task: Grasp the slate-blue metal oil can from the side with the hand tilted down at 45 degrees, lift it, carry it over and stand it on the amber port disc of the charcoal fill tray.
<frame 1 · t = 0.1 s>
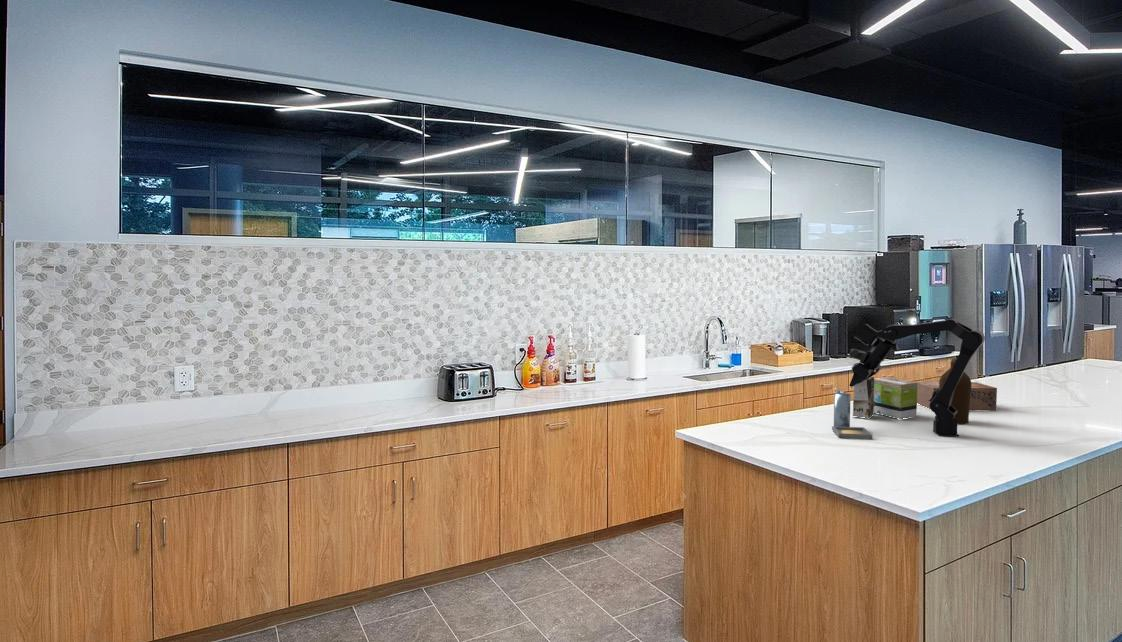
hand: (854, 384, 241), 15 cm above the counter, tool tilted 35°, fingers open, 9 cm apart
fill tray: (851, 434, 223), on the counter
spout can: (841, 427, 233), on the counter
tea box: (892, 416, 253), on the counter
olive oil: (954, 422, 241), on the counter
coffee box: (863, 417, 251), on the counter
tissue box cover: (954, 408, 267), on the counter
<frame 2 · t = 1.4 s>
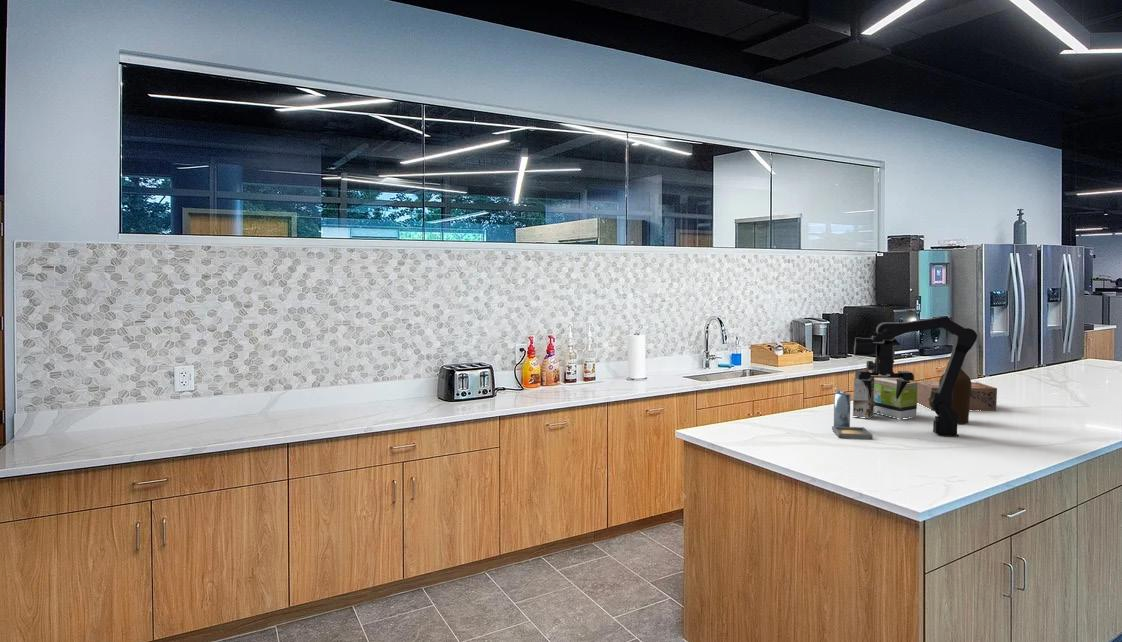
hand: (883, 398, 228), 12 cm above the counter, tool pointing down, fingers open, 9 cm apart
nothing on the counter moved.
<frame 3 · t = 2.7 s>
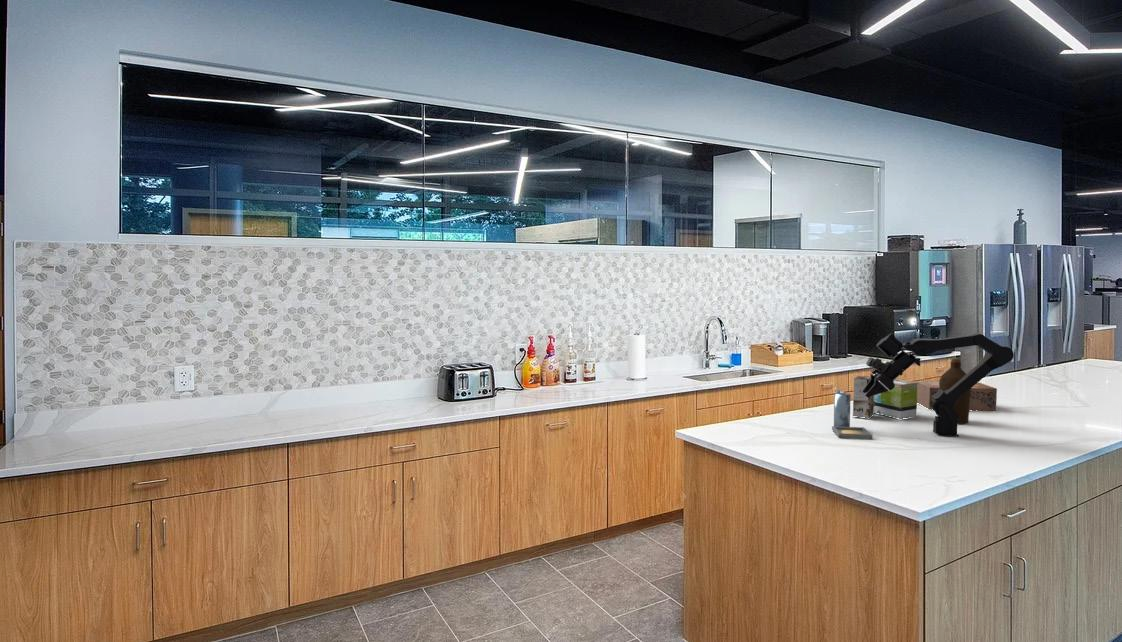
hand: (864, 394, 230), 13 cm above the counter, tool tilted 45°, fingers open, 9 cm apart
nothing on the counter moved.
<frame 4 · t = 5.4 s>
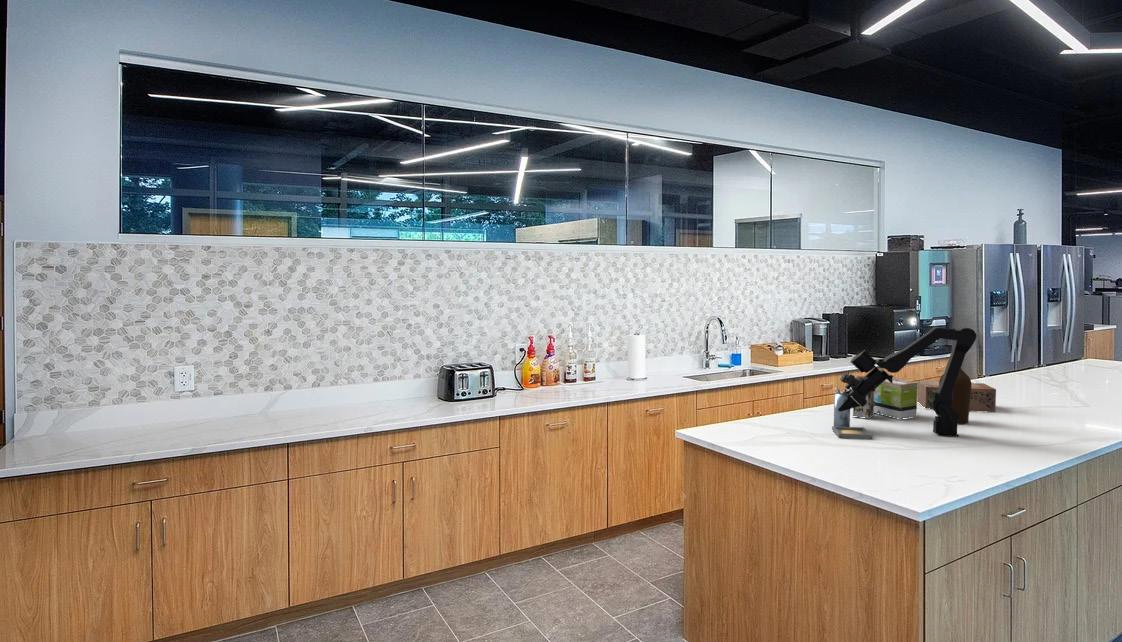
hand: (838, 409, 233), 7 cm above the counter, tool tilted 45°, fingers closed on spout can, 6 cm apart
spout can: (841, 427, 233), on the counter, touching gripper
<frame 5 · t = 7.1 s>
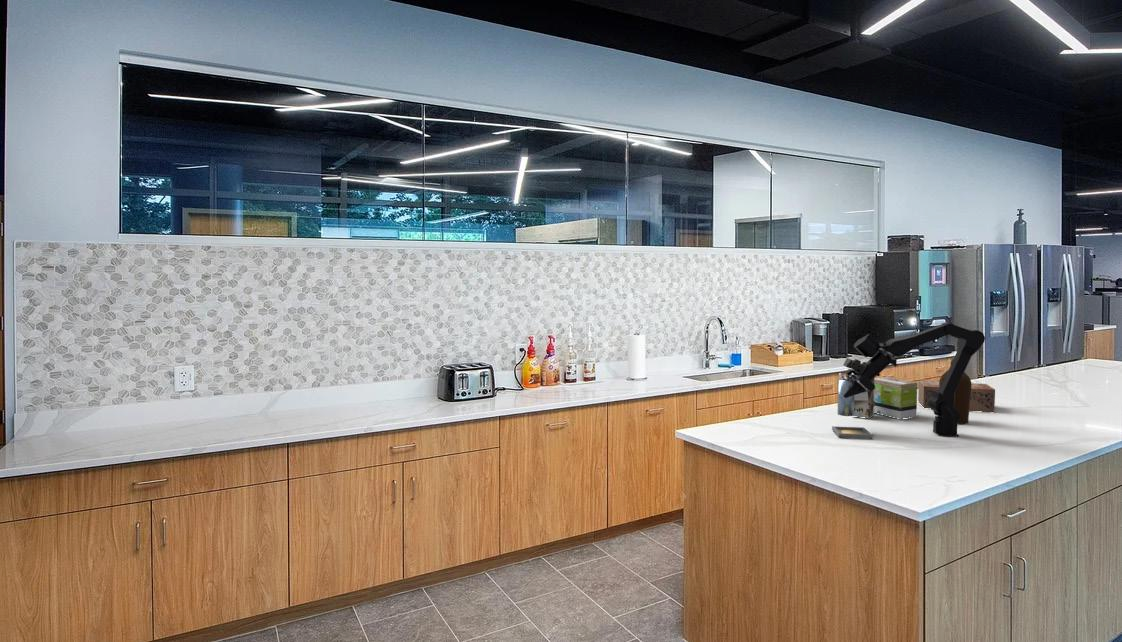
hand: (842, 395, 227), 13 cm above the counter, tool tilted 45°, fingers closed on spout can, 6 cm apart
spout can: (845, 414, 228), point 6 cm above the counter, touching gripper
when the fingers open (9 cm above the counter, at t = 9.0 s): spout can stays where it is, resting on fill tray.
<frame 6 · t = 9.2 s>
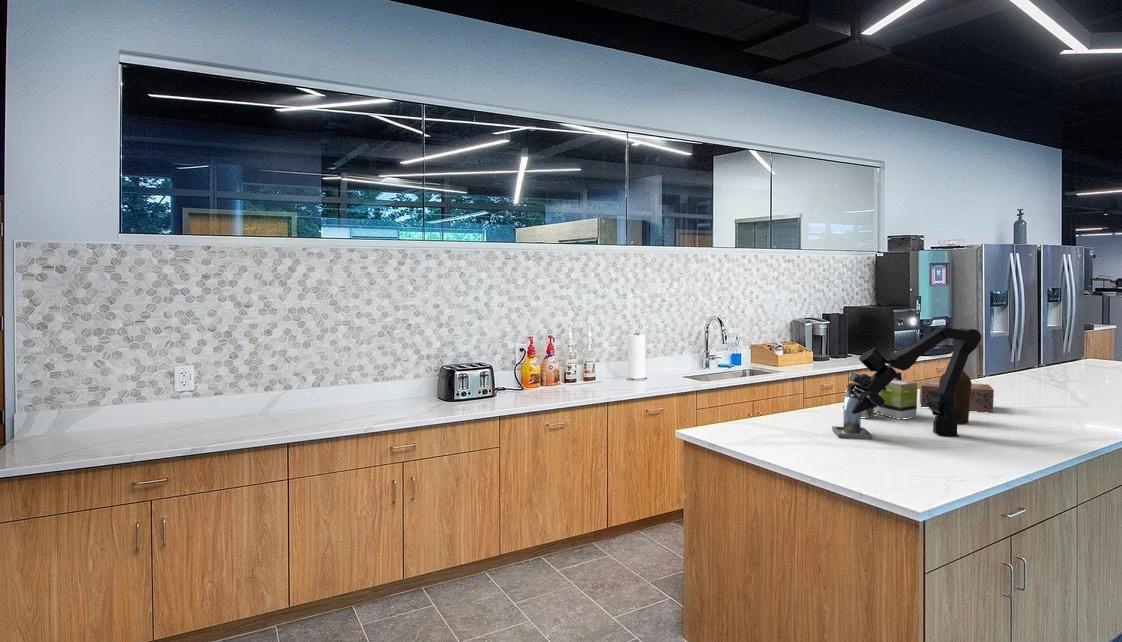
hand: (848, 410, 222), 9 cm above the counter, tool tilted 45°, fingers open, 7 cm apart
spout can: (851, 432, 222), point 1 cm above the counter, touching fill tray
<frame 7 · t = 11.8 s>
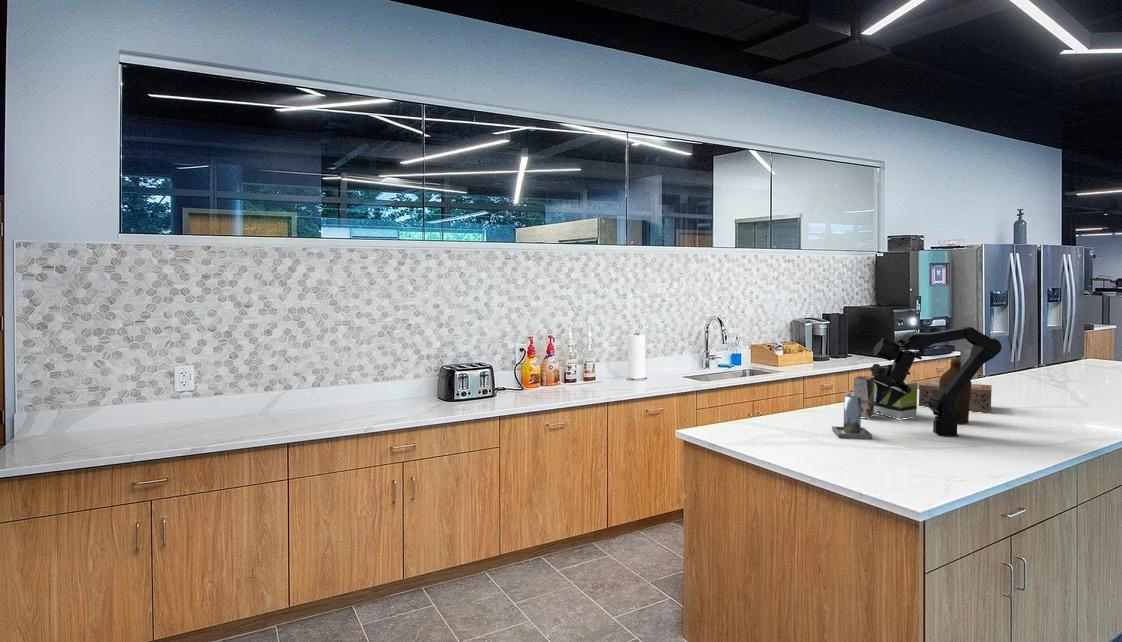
hand: (882, 404, 223), 11 cm above the counter, tool tilted 25°, fingers open, 9 cm apart
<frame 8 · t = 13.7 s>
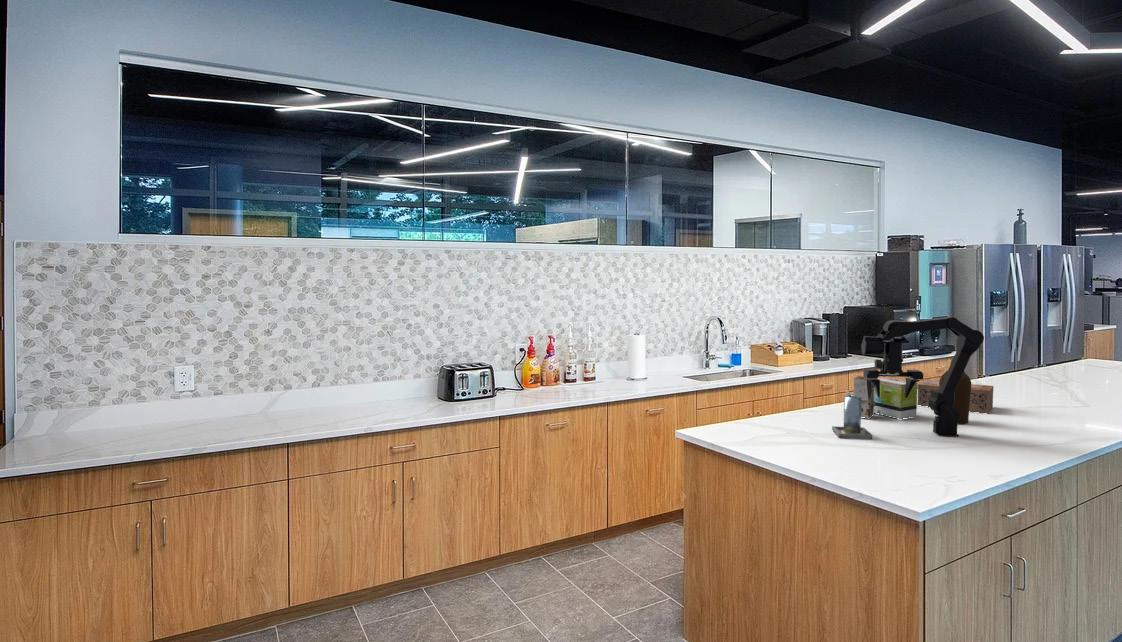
hand: (892, 397, 224), 13 cm above the counter, tool pointing down, fingers open, 9 cm apart
at the end: spout can 0.1 cm off-centre on the fill tray, point 0.9 cm above the fill tray's base; spout can tilted 0°; the gripper is holding nothing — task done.
